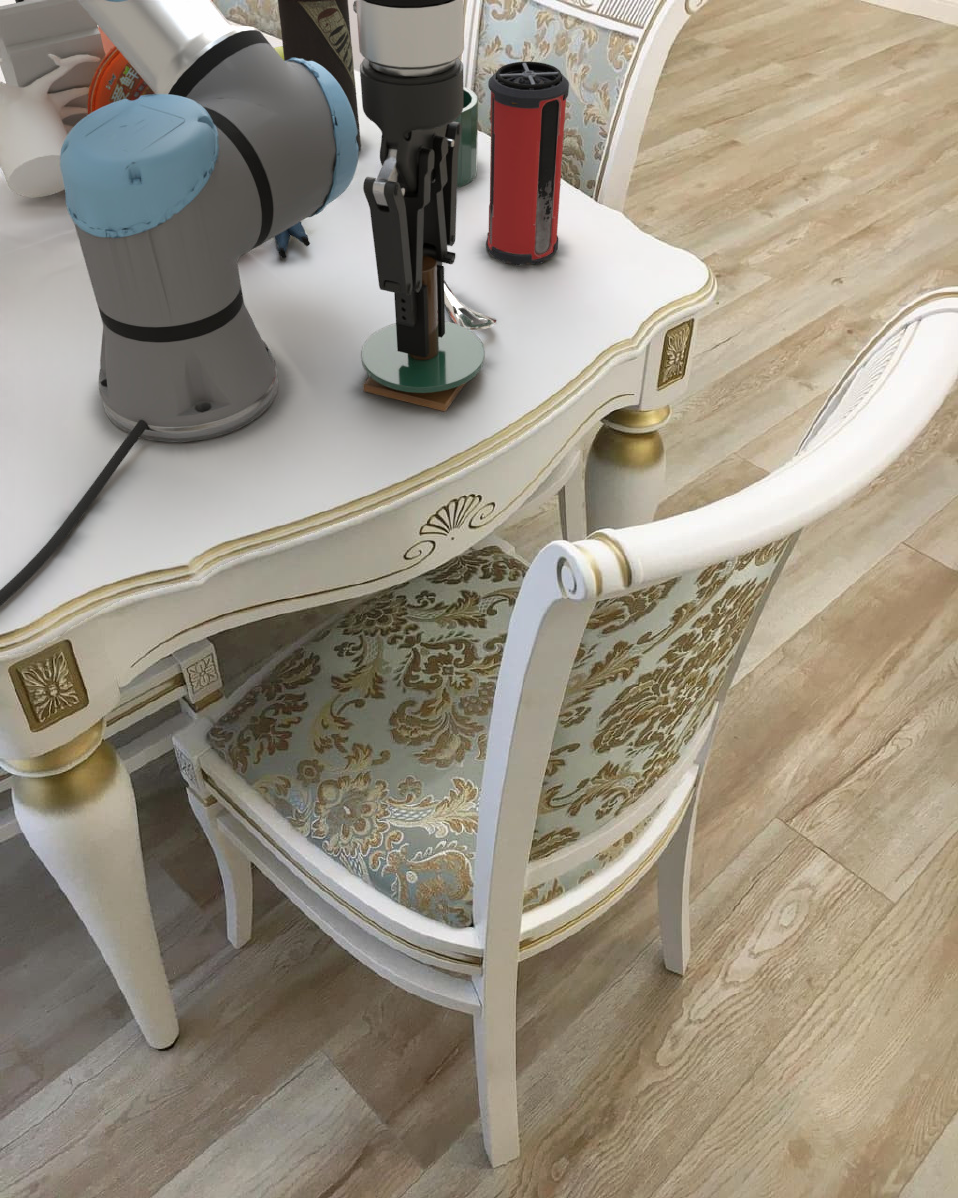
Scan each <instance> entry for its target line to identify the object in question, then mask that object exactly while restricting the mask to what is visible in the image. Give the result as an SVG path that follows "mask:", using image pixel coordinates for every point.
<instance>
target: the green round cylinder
mask: <svg viewBox="0 0 958 1198" xmlns="http://www.w3.org/2000/svg"><path fill="white" fill-rule="evenodd" d="M478 118H479V97H478V96H477V94H476V92H475V91H473V90H471V89H470V88H469V87H466V86H463V111H462V113H461V115H460V116H459V117H458V118H457V119H456V120H455V121H453V122H459V123H461V126H462V132H461V138H460V144H459V151H458V172H457V189H459V188H462V187H464V186H467V185H468V184H470V183H472V182H473V181H474V180H475V179H476V176H477V174H478V134H479V133H478V127H479V125H478V123H479V119H478Z"/></svg>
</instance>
